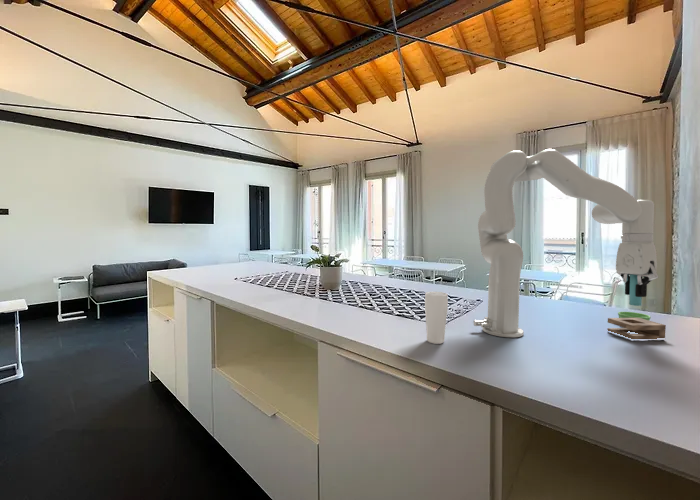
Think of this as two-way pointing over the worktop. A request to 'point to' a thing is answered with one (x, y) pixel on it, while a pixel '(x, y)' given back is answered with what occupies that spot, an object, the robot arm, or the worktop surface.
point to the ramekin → (633, 315)
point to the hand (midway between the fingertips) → (635, 295)
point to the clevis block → (638, 328)
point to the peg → (632, 298)
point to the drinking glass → (436, 316)
